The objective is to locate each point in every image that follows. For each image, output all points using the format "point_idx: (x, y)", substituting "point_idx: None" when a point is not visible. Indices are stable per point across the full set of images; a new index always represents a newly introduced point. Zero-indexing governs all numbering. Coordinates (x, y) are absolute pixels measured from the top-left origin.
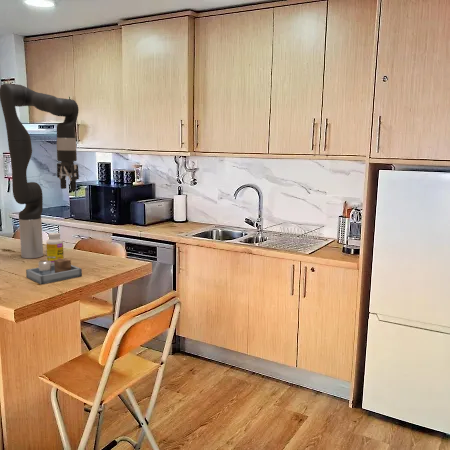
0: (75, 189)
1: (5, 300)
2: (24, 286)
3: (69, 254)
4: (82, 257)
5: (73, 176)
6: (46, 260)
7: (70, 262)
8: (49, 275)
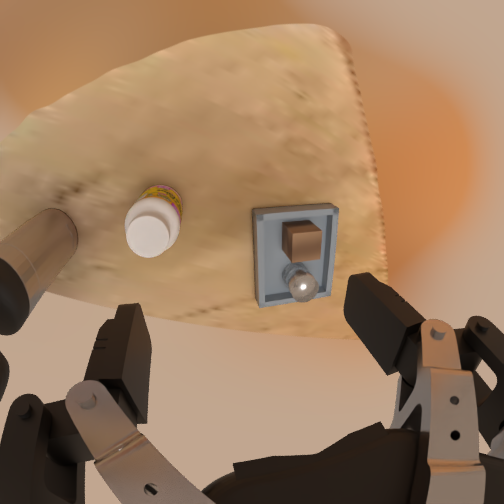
0: (365, 276)
1: (352, 338)
2: (312, 311)
3: (80, 139)
4: (139, 117)
5: (475, 379)
6: (296, 284)
7: (319, 229)
8: (331, 279)
